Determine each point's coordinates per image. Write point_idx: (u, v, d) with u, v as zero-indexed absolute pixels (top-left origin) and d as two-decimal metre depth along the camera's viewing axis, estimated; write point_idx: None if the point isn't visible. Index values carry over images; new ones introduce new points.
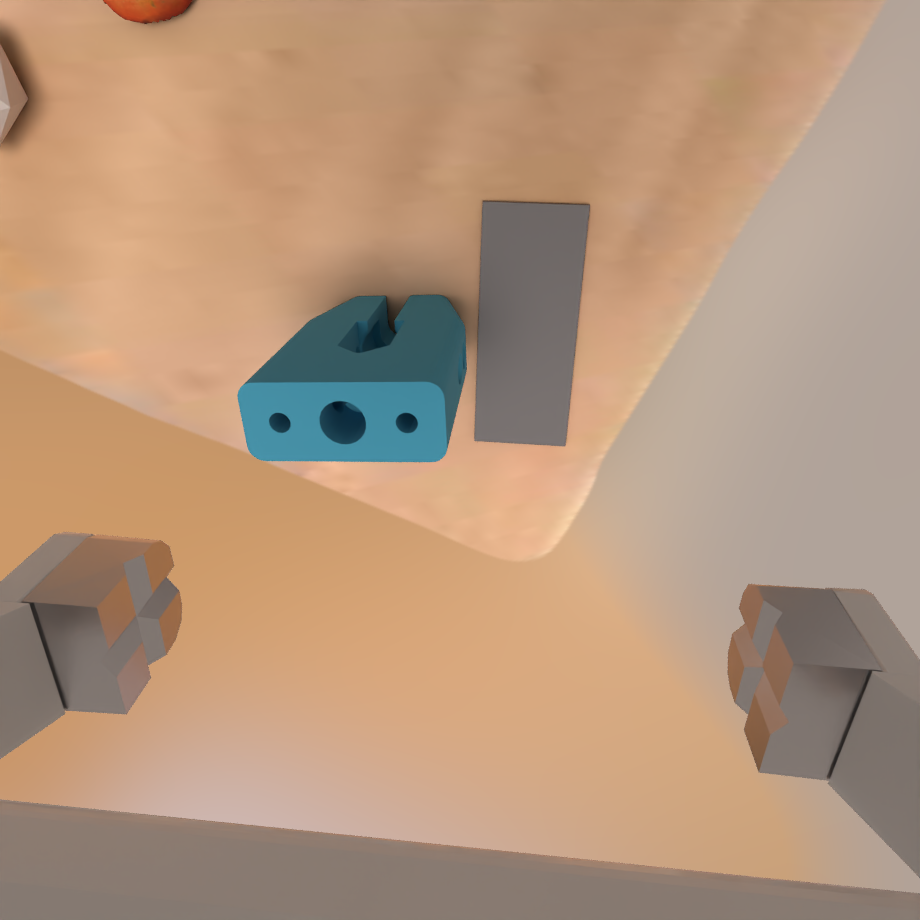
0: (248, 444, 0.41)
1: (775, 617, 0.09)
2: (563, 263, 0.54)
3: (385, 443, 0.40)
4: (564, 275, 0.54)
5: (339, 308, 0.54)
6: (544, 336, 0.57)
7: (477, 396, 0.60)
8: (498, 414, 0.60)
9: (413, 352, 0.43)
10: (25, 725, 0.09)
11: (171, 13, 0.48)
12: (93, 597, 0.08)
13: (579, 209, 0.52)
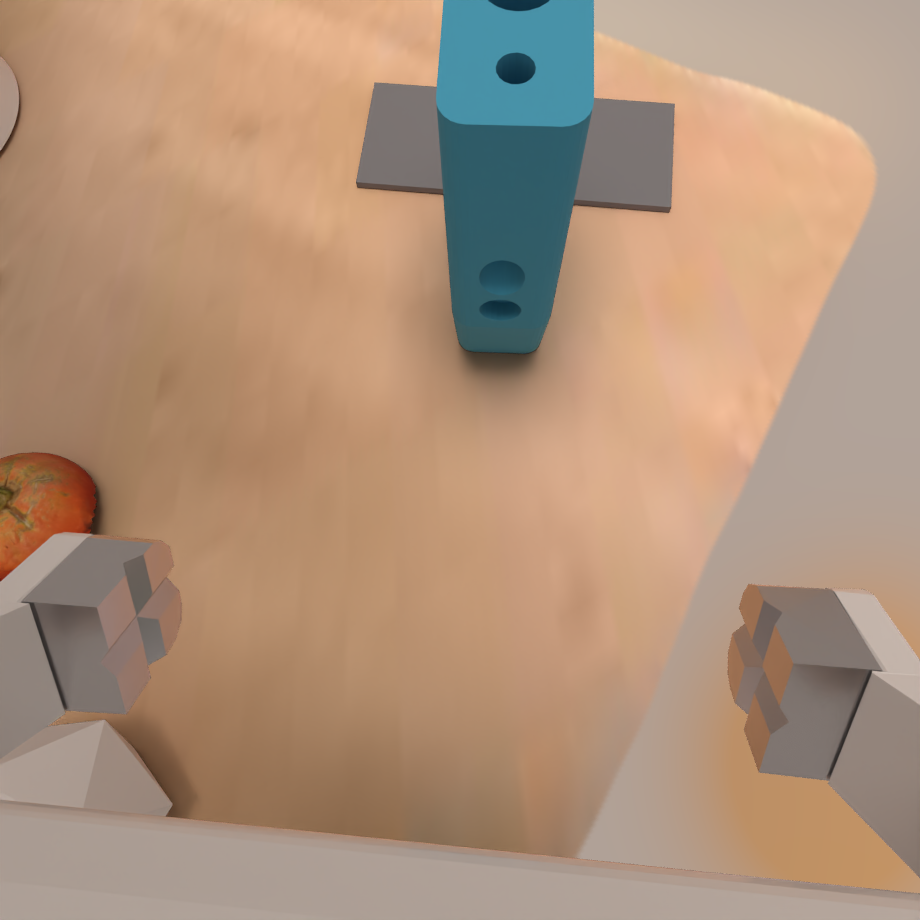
0: (557, 123, 0.22)
1: (775, 617, 0.09)
2: (435, 105, 0.46)
3: None
4: None
5: None
6: None
7: (603, 200, 0.44)
8: (630, 177, 0.44)
9: None
10: (25, 725, 0.09)
11: (88, 491, 0.38)
12: (93, 597, 0.08)
13: (377, 91, 0.47)
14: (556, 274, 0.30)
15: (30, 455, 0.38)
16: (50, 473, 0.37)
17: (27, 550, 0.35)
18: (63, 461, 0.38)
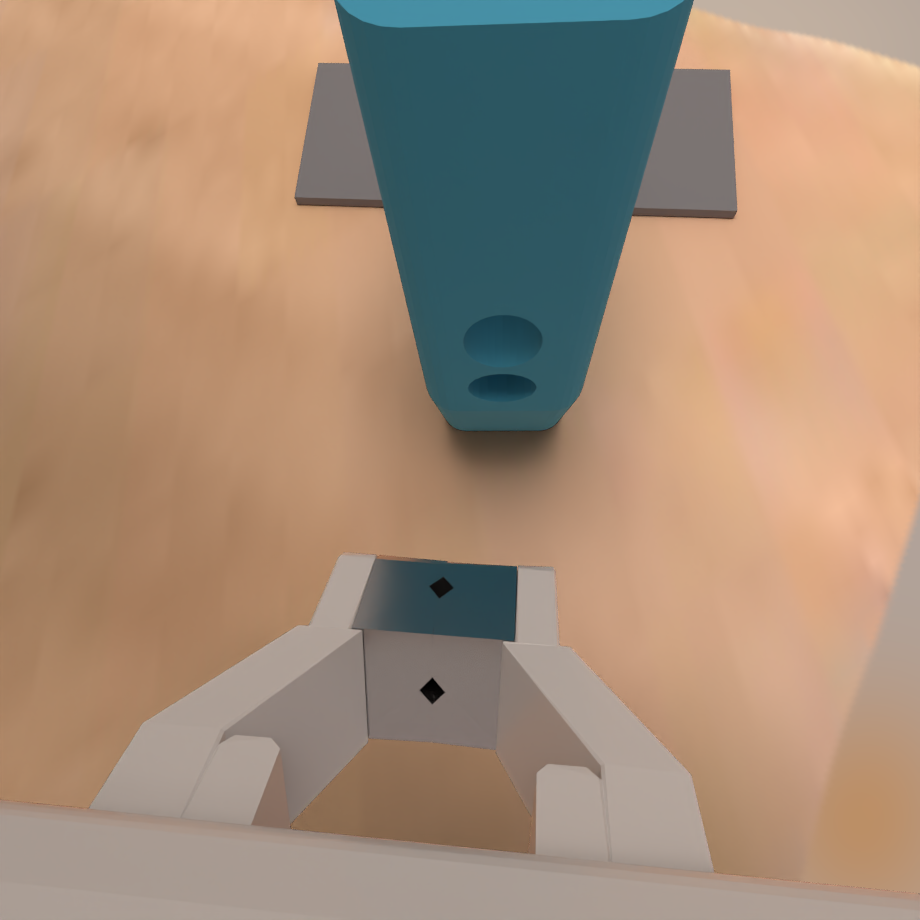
0: (619, 12, 0.09)
1: None
2: None
3: None
4: None
5: None
6: None
7: (640, 205, 0.31)
8: (675, 172, 0.31)
9: None
10: (342, 754, 0.08)
11: None
12: (421, 623, 0.08)
13: (322, 74, 0.34)
14: (596, 331, 0.18)
15: None
16: None
17: None
18: None
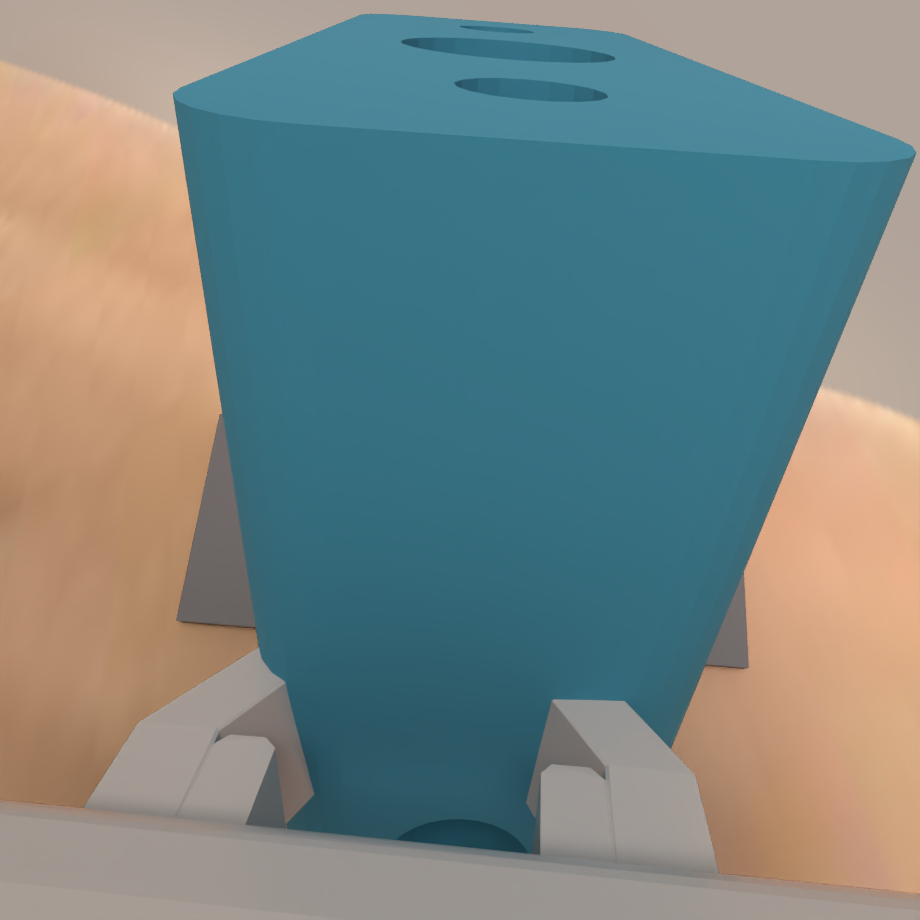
0: (786, 153, 0.04)
1: None
2: None
3: (582, 41, 0.11)
4: None
5: None
6: None
7: None
8: None
9: None
10: None
11: None
12: None
13: (223, 431, 0.27)
14: None
15: None
16: None
17: None
18: None
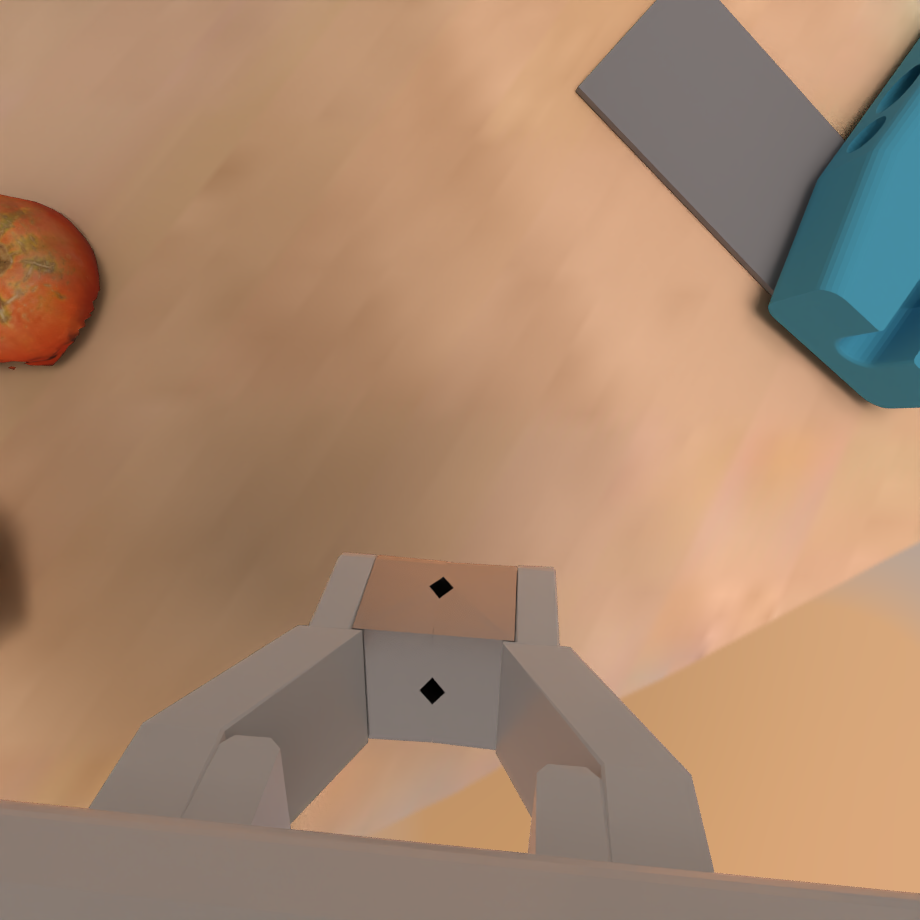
0: None
1: None
2: (727, 55, 0.34)
3: None
4: (741, 67, 0.34)
5: None
6: (792, 157, 0.35)
7: None
8: None
9: None
10: (342, 754, 0.08)
11: (89, 296, 0.31)
12: (422, 623, 0.08)
13: None
14: None
15: (38, 216, 0.29)
16: (52, 261, 0.29)
17: None
18: (74, 242, 0.30)
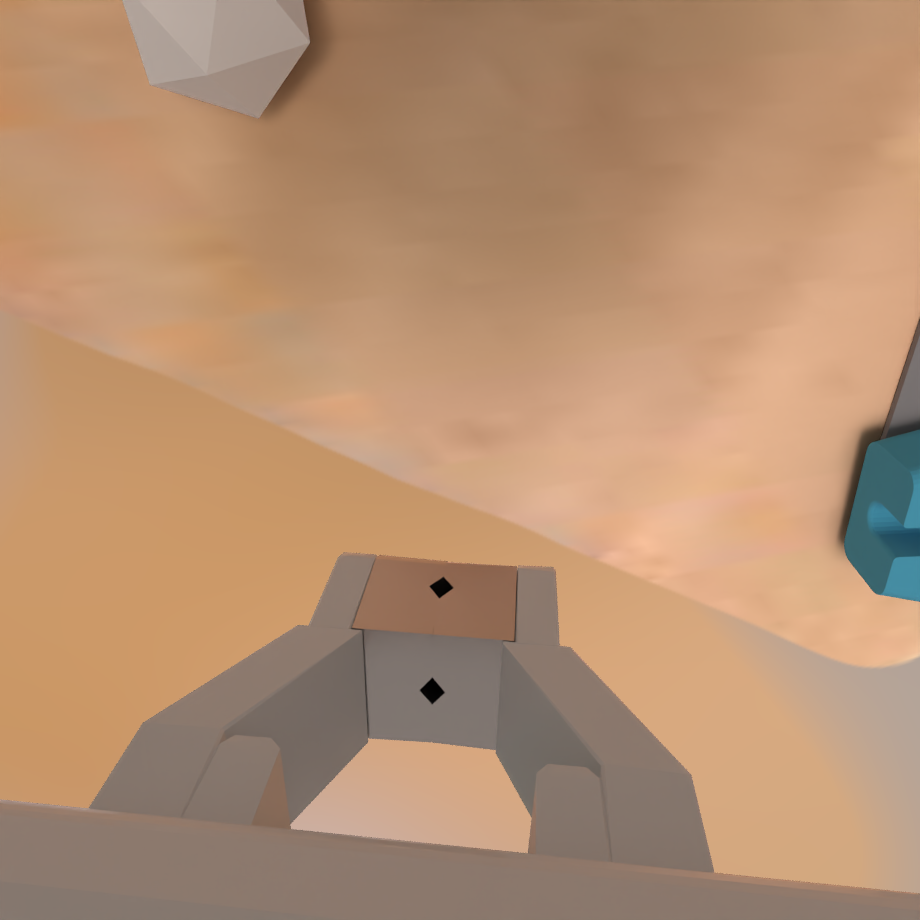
0: None
1: None
2: None
3: None
4: None
5: None
6: None
7: None
8: None
9: None
10: (342, 754, 0.08)
11: None
12: (421, 623, 0.08)
13: None
14: None
15: None
16: None
17: None
18: None
